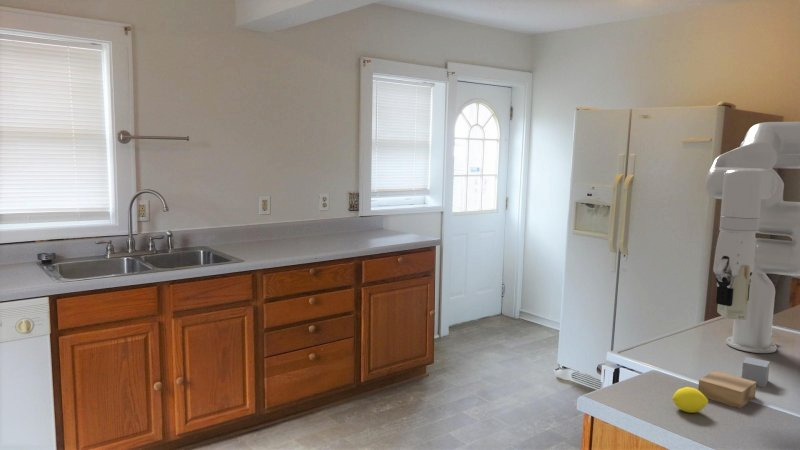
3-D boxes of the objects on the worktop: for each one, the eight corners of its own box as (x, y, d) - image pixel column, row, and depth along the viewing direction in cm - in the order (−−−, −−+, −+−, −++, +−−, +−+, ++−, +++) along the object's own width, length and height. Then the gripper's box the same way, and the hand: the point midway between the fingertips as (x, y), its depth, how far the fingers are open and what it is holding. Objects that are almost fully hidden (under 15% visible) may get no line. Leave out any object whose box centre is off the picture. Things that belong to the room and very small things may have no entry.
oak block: (713, 386, 141) (714, 370, 140) (754, 398, 134) (756, 381, 134) (697, 396, 135) (699, 379, 134) (740, 409, 128) (741, 392, 128)
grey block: (744, 376, 147) (746, 356, 146) (767, 381, 144) (769, 361, 143) (741, 382, 143) (743, 362, 142) (765, 387, 140) (767, 367, 139)
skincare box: (746, 320, 129) (751, 266, 128) (725, 319, 130) (729, 265, 129) (736, 313, 135) (741, 261, 134) (716, 311, 136) (720, 260, 135)
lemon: (672, 415, 126) (670, 390, 125) (674, 405, 130) (672, 382, 130) (708, 418, 122) (706, 393, 122) (710, 409, 127) (708, 384, 126)
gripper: (739, 220, 138) (732, 294, 140) (702, 225, 128) (696, 304, 130) (774, 224, 132) (767, 300, 134) (738, 229, 122) (731, 311, 124)
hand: (732, 301), depth 132 cm, fingers closed on skincare box, 7 cm apart
